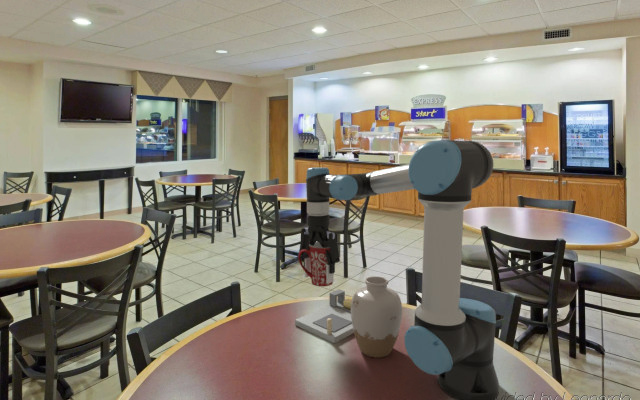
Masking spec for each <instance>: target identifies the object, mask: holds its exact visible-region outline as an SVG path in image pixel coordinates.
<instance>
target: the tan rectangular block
mask: <svg viewBox="0 0 640 400" xmlns="http://www.w3.org/2000/svg"><path fill="white" fill-rule="evenodd" d="M351 302H352V298H347V299H346V298H345V300H344V308H346V309H349V310H351Z"/></svg>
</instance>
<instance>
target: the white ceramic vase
mask: <svg viewBox="0 0 640 400" xmlns="http://www.w3.org/2000/svg"><path fill="white" fill-rule="evenodd" d="M364 282H365V284H366V286H363V287H360V288H358V289H357V290H356V291H355V292H354V294H353V296H352V298H351V300H352V302H351V319H352V325H353V330H354V333H353V334H354V337H355V340H356V343H357V346H358V347H359V349H360V352H361V353H362V354H363V355H365V356H367V357H370V358H377V359H379V358H384V357H387V356H389V355H390V354H391V352H392V351H393V349H394V347H395V345H396V341H397V340H398V336H399V333H400V329H401V324H402V317H403V305H402V300H401V297H400V296H399V294H398V292H396V291H395V290H394V289H392V288H390V287H388V284H389V280H388V279H387V278H385V277H383V276H369V277H366V278H365V279H364Z"/></svg>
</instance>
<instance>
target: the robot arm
mask: <svg viewBox="0 0 640 400" xmlns="http://www.w3.org/2000/svg"><path fill="white" fill-rule="evenodd" d="M493 170H494V159H493V156H492V154H491V152H490V150H489V149H488V148H487V147H486V146H485V145H483V144H482V143H480V142H477V141H476V140H475V141H473V140H454V139H453V140H450V139H440V140H432V141H428V142H425V143H423V144H422V145H421V146H419V147H418V148H417V150H415V152H414V153H413V154H412V156H411V158H410V160H409V163H406V164H403V165H398V166H392V167H388V168H384V169H380V170H373V171H370V172H362V173H348V174H347V173H346V174H345V173H343V174H331V173H330V169H329V168H328V167H321V166H320V167H309V168H307V170H306V179H305V183H306V184H305V185H306V214H307V216H306V225H307V226H308V227H303V228H301V238H300V243H299V244H300V245H299V249H298V250H299V251H298V253H299V252H300V251H301V250H303V249H306V250H310V247H309V244H310V245H312V246H314V244H315V242H319V243H320V245H322V248H329V247H330V251H328V250H326V254H325V256H326V258H327V261H328V263H327V264H326V283H327V284H329V283H331V282H333V283H334V274H335V272H336V271H335V270H336V267H335V265H336V264H337V263H340V262H341V259H340V253H339V247H338V242H337V232H336V231H334V232H332V231H330V229H329V226H330V224H331V223H330V215H329V213H330V199H334V200H338V201H350V200H352V199H353V198H359V197H360V198H361V197H371V196H372V197H373V196H378V195H382V194H383V195H384V194H391V193H396V192H404V191H411V190H415V191H417V200H418V201H419V202H420V203H421V205H422V206H423V207H424V209H423V212H424V213H423V240H422V241H423V243H422V244H423V245H422V248H423V249H422V274H421V275H422V278H421V279H422V281H421V283H422V284H421V304H419V305H418V306H416V307H415V309H414V323H413V325H411V326H410V327H409V328H408V329H406V331H405V334H404V339H403V340H404V341H403V343H404V347H405V350H406V353H407V355H408V357H409V358H410V359H411V360H412V362H413V363H414V365H415V366H416V367H417V368H418V369H419V370H421V371H422V372H424V373H426V374H428V375H432V376H433V375H434V376H436V375H437V382H438V385H439V386H440V388H441V389H442V390H443V391H444V392H445V394H446V393H447V394H448V395H450V396H451V397H453V398H455V399H458V400H496V398H498V396H499V392H500V391H499V390H500V382H499V379H498V376H497V372H496V369H495V365H494V353H495V352H494V351H495V338H496V337H495V336H496V325H497V321H496V311H495V309H494V308H493V307H492V306H491V305H489V304H487V303H485V302H482V301H479V300H476V299H471V298H465V297H461V279H462V278H461V277H462V276H461V275H462V255H463V254H462V253H463V236H464V235H463V231H464V209H465V208H466V207H467V206H468V205H469V204H470V203H472V192H473V191H472V190H473V189H476V188H478V187H481V186H483V184H486V182H487V181H488V180H489V179H490V177H491V176H492V173H493ZM301 257H302V258H303V265H304V267H305V268H306V269H307V270H308V272H311V261H310V258H309V255H308V254H307V253H306V252H303V253H302V254H301ZM308 277H309V276H308V274H307V273H306V272H305V271H304V278H308ZM309 278H310V277H309Z"/></svg>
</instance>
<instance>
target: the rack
mask: <svg viewBox="0 0 640 400" xmlns="http://www.w3.org/2000/svg"><path fill="white" fill-rule="evenodd" d="M345 293H346V292H345V291H344V290H342V289H336V290H333V291H331V292H329V304H328V305H326V306H324V307H321V308H318V309H317V310H314V311H313V312H310V313H307V314H305V315H303V316H300V317H298V318H296V319H295V320H294V325H295V326H297V327H298V328H301V329H303V330H305V331H307V332H309V333H311V334H313V335H314V336H316V337H320V338H322V339H323V340H326V341H328V342H329V343H332V344H336V343H339V342H340V341H341V340H343V339H345V338H347V337H349V336H350V335H352V334H354V330H353V325H352V319H351V310H349V309H346V308H344V300H346V298H345V296H346V295H345Z"/></svg>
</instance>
